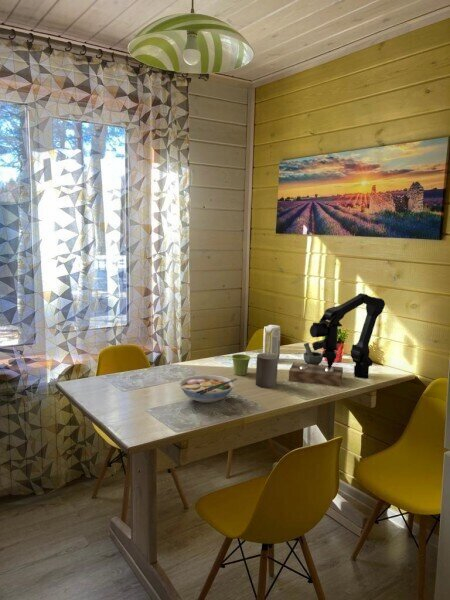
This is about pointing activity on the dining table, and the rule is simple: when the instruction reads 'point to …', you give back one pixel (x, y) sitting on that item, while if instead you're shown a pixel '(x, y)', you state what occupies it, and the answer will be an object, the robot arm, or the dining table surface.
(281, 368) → the dining table surface
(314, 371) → the walnut block
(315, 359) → the mortar and pestle
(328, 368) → the peg near
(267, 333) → the juice carton
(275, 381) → the pillar candle
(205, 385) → the ramen bowl
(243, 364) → the plant pot
